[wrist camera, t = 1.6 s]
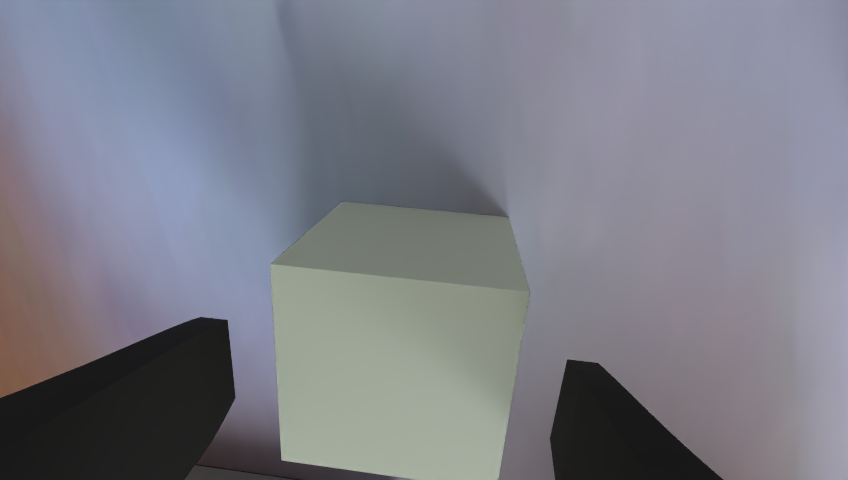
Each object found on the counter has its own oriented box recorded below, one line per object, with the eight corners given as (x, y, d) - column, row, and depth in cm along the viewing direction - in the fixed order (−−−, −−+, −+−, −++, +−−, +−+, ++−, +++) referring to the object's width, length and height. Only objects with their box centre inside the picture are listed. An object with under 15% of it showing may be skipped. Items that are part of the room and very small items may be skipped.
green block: (508, 216, 13) (530, 292, 8) (488, 359, 14) (495, 491, 10) (342, 200, 13) (270, 264, 8) (342, 341, 15) (281, 460, 10)
